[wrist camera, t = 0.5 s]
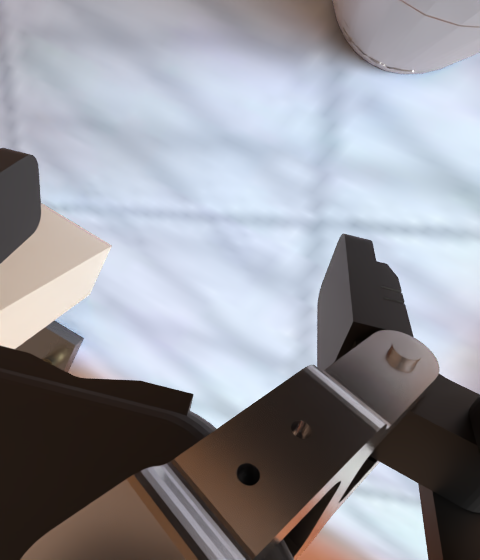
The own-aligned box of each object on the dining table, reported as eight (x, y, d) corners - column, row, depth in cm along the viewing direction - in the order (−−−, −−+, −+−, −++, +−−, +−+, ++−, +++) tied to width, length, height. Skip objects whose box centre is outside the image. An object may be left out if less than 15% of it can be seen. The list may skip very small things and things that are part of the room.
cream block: (39, 202, 32) (-116, 247, 21) (111, 245, 32) (-5, 313, 21) (21, 253, 34) (-131, 319, 23) (89, 294, 34) (-29, 380, 23)
